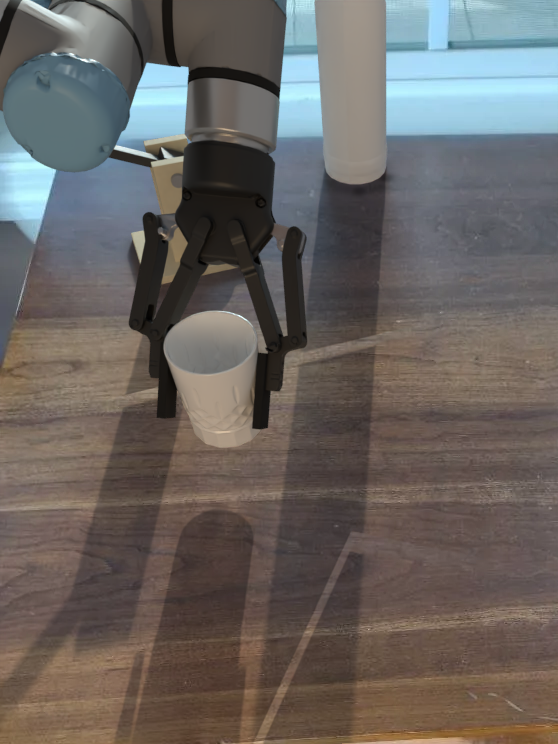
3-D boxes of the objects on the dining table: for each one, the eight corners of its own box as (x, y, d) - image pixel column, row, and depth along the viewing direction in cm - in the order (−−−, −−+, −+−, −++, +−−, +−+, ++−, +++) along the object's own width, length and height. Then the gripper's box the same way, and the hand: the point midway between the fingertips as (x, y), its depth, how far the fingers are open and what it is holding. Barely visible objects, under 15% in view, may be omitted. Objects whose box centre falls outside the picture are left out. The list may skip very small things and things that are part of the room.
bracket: (147, 289, 96) (117, 185, 85) (133, 241, 101) (103, 137, 90) (252, 266, 98) (236, 162, 88) (233, 220, 103) (216, 117, 93)
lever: (56, 165, 83) (60, 142, 82) (48, 132, 86) (52, 109, 85) (188, 195, 90) (194, 174, 89) (176, 164, 94) (182, 143, 92)
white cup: (171, 441, 80) (146, 361, 71) (209, 383, 84) (189, 301, 76) (249, 463, 78) (233, 384, 70) (284, 403, 83) (272, 322, 74)
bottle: (387, 151, 112) (387, -128, 87) (387, 187, 107) (387, -96, 83) (325, 150, 112) (307, -129, 87) (322, 186, 107) (303, -97, 82)
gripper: (358, 171, 75) (335, 433, 79) (128, 150, 76) (117, 408, 81) (345, 148, 68) (320, 438, 72) (91, 125, 69) (80, 411, 73)
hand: (213, 422), depth 76 cm, fingers closed on white cup, 8 cm apart
